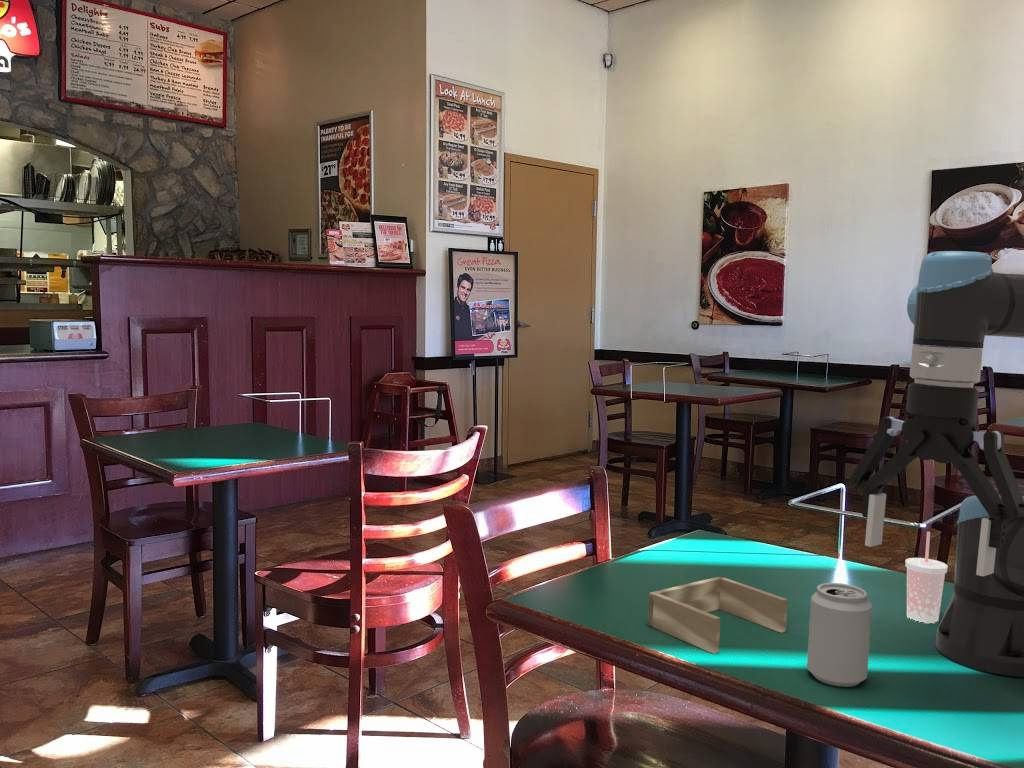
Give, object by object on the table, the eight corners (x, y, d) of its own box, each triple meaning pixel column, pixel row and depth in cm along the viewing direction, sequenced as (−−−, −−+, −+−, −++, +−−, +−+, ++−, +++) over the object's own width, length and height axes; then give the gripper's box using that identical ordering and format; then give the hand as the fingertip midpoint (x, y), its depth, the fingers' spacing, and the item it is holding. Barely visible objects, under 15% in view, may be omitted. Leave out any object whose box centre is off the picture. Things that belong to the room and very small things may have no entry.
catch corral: (718, 606, 142) (720, 576, 142) (785, 631, 132) (787, 599, 131) (647, 624, 133) (649, 592, 132) (713, 653, 122) (715, 619, 122)
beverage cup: (948, 627, 136) (955, 538, 134) (906, 623, 137) (912, 535, 136) (937, 613, 142) (944, 528, 140) (897, 610, 143) (903, 525, 142)
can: (818, 660, 121) (823, 576, 120) (874, 676, 116) (880, 588, 115) (797, 677, 115) (803, 588, 114) (855, 695, 110) (862, 602, 109)
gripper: (830, 373, 111) (816, 537, 113) (1045, 395, 92) (1024, 593, 93) (862, 373, 116) (848, 531, 118) (1073, 394, 96) (1052, 582, 98)
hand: (926, 559), depth 105 cm, fingers open, 13 cm apart
